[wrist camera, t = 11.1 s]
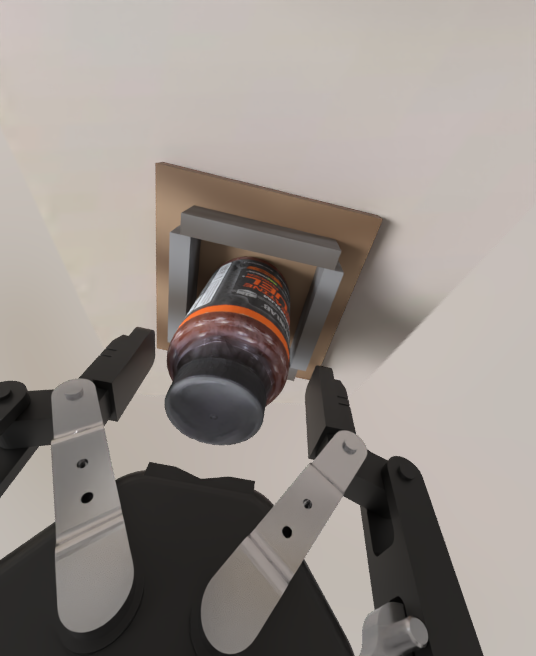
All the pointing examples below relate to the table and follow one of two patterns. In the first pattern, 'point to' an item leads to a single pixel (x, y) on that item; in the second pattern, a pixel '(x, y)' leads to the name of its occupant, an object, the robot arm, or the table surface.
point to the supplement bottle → (230, 353)
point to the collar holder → (257, 252)
